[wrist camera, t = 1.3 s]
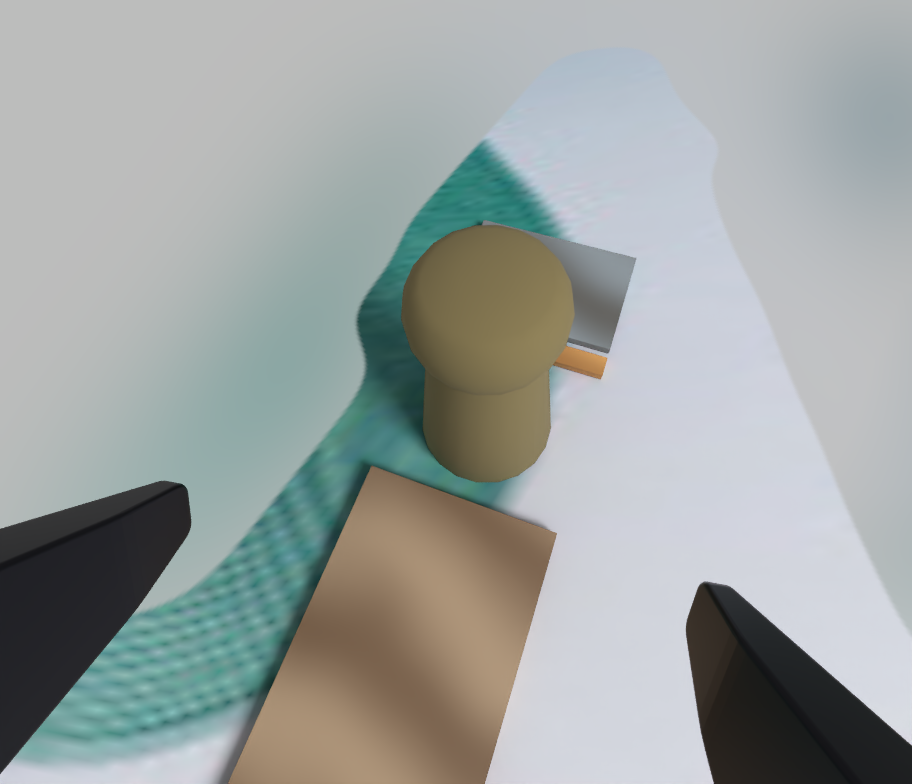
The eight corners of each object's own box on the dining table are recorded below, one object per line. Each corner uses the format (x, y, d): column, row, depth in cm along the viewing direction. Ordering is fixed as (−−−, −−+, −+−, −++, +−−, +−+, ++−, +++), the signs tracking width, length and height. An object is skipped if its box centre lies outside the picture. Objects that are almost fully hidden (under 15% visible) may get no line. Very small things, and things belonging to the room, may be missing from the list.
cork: (396, 420, 24) (332, 278, 14) (484, 340, 26) (484, 160, 16) (487, 511, 22) (490, 420, 12) (577, 418, 24) (646, 270, 14)
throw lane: (415, 1015, 16) (413, 1029, 15) (188, 882, 17) (179, 891, 17) (634, 263, 27) (637, 255, 26) (484, 225, 29) (484, 217, 28)
